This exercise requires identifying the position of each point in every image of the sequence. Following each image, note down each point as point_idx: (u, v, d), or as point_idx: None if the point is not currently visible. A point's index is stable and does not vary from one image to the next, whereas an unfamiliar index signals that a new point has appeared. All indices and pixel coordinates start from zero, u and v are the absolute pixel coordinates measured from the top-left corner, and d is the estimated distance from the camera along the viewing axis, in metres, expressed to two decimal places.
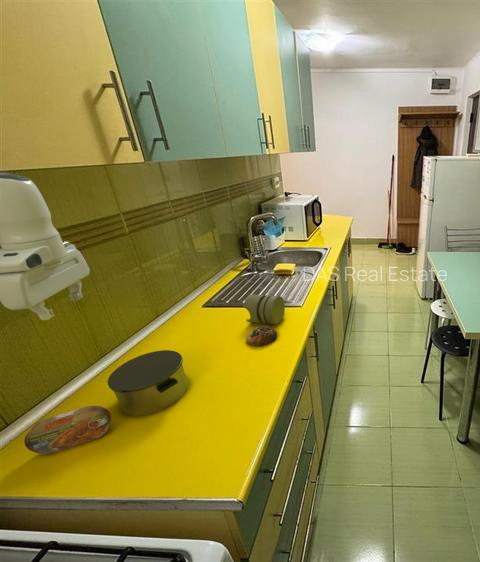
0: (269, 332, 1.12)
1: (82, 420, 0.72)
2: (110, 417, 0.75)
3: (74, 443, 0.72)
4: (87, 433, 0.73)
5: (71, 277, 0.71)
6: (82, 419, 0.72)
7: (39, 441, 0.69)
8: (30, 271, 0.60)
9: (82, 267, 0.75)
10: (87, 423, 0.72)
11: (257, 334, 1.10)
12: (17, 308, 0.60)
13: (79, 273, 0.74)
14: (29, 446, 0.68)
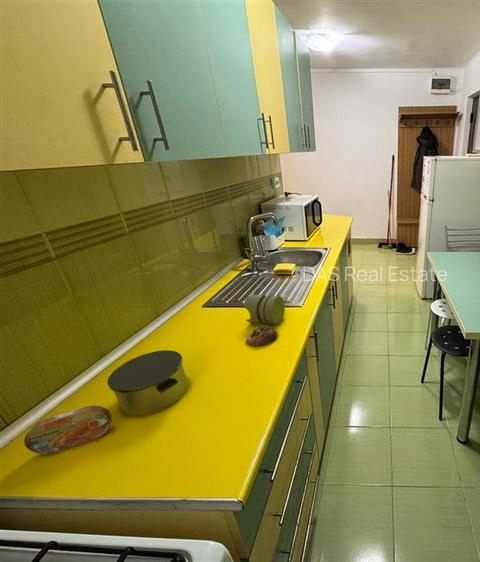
0: (269, 332, 1.12)
1: (82, 420, 0.72)
2: (110, 417, 0.75)
3: (74, 443, 0.72)
4: (87, 433, 0.73)
5: None
6: (82, 419, 0.72)
7: (39, 441, 0.69)
8: None
9: None
10: (87, 423, 0.72)
11: (257, 334, 1.10)
12: None
13: None
14: (29, 446, 0.68)
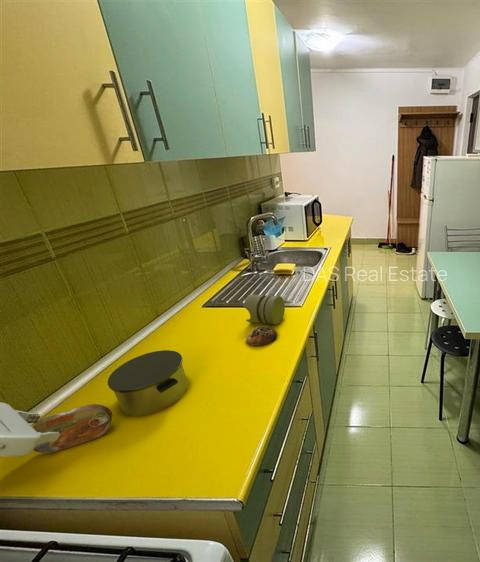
0: (269, 332, 1.12)
1: (83, 418, 0.72)
2: (111, 416, 0.76)
3: (74, 442, 0.72)
4: (87, 432, 0.73)
5: None
6: (83, 417, 0.72)
7: None
8: None
9: None
10: (88, 421, 0.73)
11: (257, 334, 1.10)
12: None
13: None
14: None
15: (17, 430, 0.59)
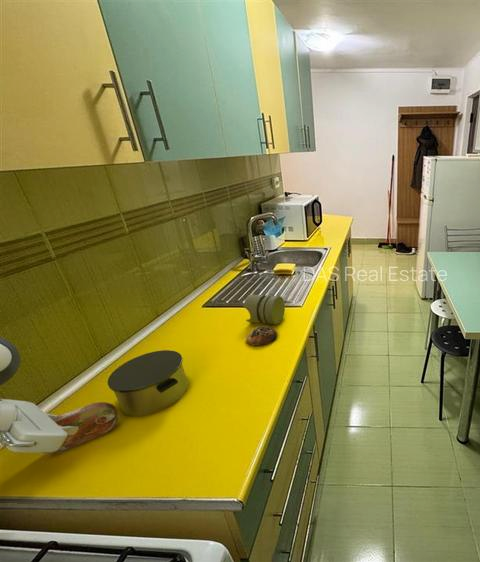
0: (269, 332, 1.12)
1: (89, 417, 0.73)
2: (117, 412, 0.77)
3: (81, 440, 0.73)
4: (94, 429, 0.74)
5: None
6: (89, 416, 0.73)
7: None
8: None
9: None
10: (95, 419, 0.73)
11: (257, 334, 1.10)
12: None
13: None
14: None
15: (46, 428, 0.63)
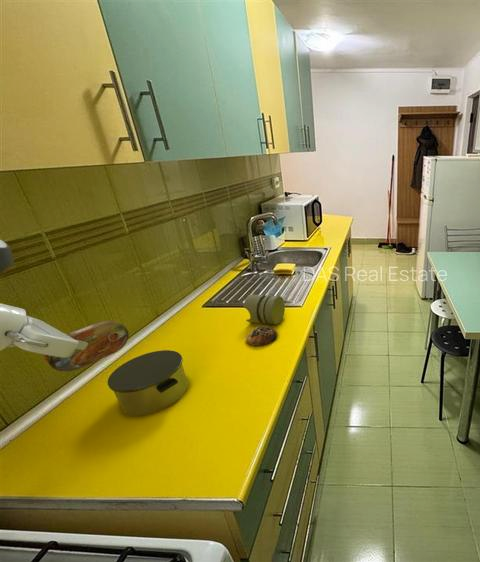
0: (269, 332, 1.12)
1: (103, 333, 0.73)
2: None
3: (95, 358, 0.73)
4: (107, 347, 0.75)
5: None
6: (103, 332, 0.73)
7: (61, 358, 0.67)
8: None
9: None
10: (108, 335, 0.74)
11: (257, 334, 1.10)
12: None
13: None
14: (51, 364, 0.66)
15: (57, 335, 0.62)
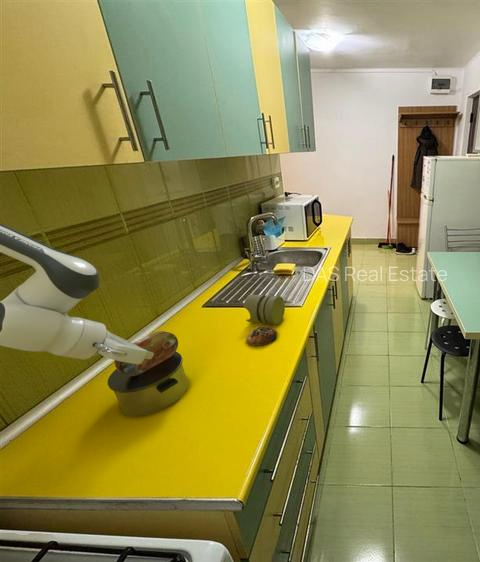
0: (269, 332, 1.12)
1: (158, 341, 0.85)
2: None
3: (153, 364, 0.85)
4: (162, 353, 0.86)
5: None
6: (158, 340, 0.85)
7: (128, 364, 0.79)
8: None
9: None
10: (162, 344, 0.86)
11: (257, 334, 1.10)
12: None
13: None
14: (121, 370, 0.78)
15: (130, 345, 0.74)
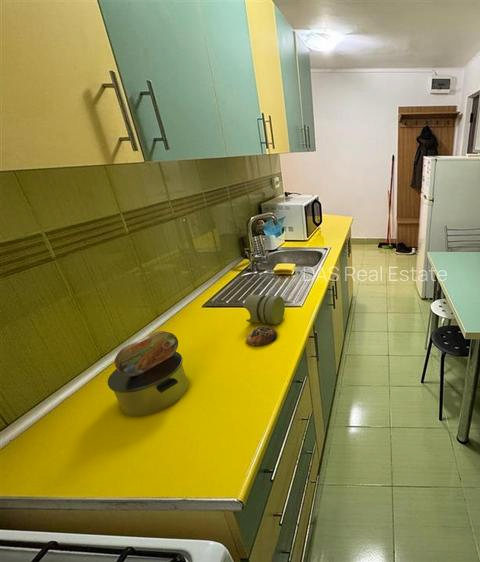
0: (269, 332, 1.12)
1: (158, 341, 0.85)
2: None
3: (153, 364, 0.85)
4: (162, 353, 0.86)
5: None
6: (158, 340, 0.85)
7: (128, 364, 0.79)
8: None
9: None
10: (162, 344, 0.86)
11: (257, 334, 1.10)
12: None
13: None
14: (121, 370, 0.78)
15: None
